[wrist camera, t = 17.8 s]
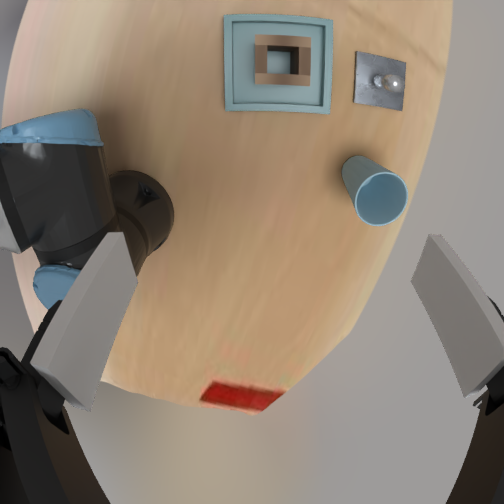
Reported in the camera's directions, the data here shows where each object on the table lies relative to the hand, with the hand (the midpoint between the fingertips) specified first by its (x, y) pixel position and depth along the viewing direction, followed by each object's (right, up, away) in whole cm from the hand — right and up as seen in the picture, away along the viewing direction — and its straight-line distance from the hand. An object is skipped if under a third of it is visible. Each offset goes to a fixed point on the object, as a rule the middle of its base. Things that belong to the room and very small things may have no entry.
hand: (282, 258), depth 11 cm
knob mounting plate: (+17, +25, +21) cm, 37 cm away
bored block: (+2, +25, +20) cm, 32 cm away
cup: (+15, +13, +30) cm, 36 cm away
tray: (+2, +26, +20) cm, 33 cm away
